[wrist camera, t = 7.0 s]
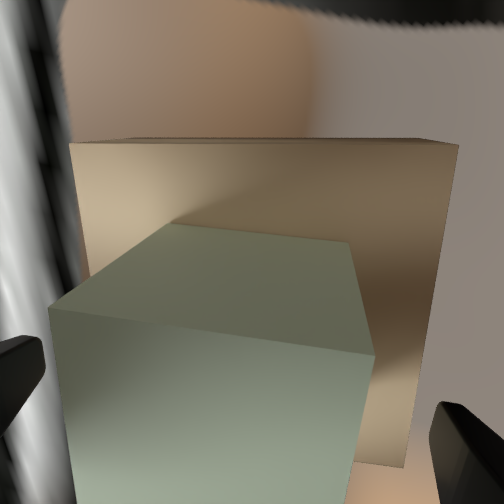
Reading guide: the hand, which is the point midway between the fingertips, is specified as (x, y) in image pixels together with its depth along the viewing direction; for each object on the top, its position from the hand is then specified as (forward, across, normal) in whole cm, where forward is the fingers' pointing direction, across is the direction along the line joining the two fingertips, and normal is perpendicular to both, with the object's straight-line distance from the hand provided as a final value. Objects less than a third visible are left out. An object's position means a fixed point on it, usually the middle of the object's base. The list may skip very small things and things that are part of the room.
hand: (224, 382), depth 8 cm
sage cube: (+3, 0, 0) cm, 3 cm away
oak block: (+7, 0, 0) cm, 7 cm away
